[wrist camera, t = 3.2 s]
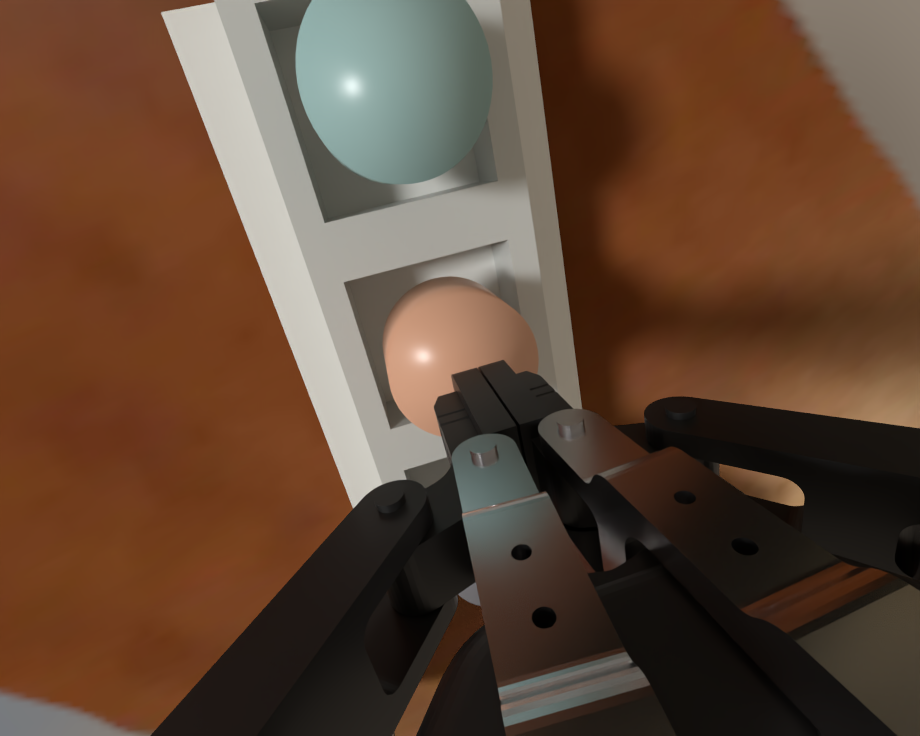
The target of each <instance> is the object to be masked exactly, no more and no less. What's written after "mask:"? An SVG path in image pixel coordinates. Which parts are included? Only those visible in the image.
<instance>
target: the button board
mask: <svg viewBox="0 0 920 736" xmlns="http://www.w3.org/2000/svg"><path fill="white" fill-rule="evenodd" d="M214 1H215V2H214V3H209V4H204V5H198V6H193V7H187V8H182V9H177V10H171V11H166V12H161V13H162V16H163V18H164V21H165V24H166V26H167V29H168V31H169V34H170V36H171V39H172V42H173V44H174V47H175V49H176V52H177V55H178V57H179V60H180V62H181V65H182V67H183V70H184V73H185V75H186V78H187V80H188V83H189V86H190V88H191V91H192V93H193V96H194V98H195V101H196V104H197V106H198V109H199V111H200V114H201V117H202V119H203V122H204V124H205V127H206V129H207V132H208V135H209V137H210V140H211V142H212V145H213V148H214V150H215V153H216V155H217V158H218V160H219V163H220V166H221V168H222V171H223V173H224V176H225V179H226V181H227V184H228V186H229V189H230V191H231V194H232V197H233V199H234V202H235V204H236V207H237V210H238V212H239V215H240V217H241V220H242V222H243V225H244V228H245V230H246V233H247V235H248V238H249V241H250V243H251V246H252V248H253V251H254V253H255V256H256V259H257V261H258V264H259V266H260V269H261V272H262V274H263V277H264V279H265V282H266V284H267V287H268V290H269V292H270V295H271V297H272V300H273V303H274V305H275V308H276V310H277V313H278V315H279V318H280V321H281V323H282V326H283V328H284V331H285V334H286V336H287V339H288V341H289V344H290V346H291V349H292V352H293V354H294V357H295V359H296V362H297V365H298V367H299V370H300V372H301V375H302V377H303V380H304V383H305V385H306V388H307V390H308V393H309V396H310V398H311V401H312V403H313V406H314V408H315V411H316V414H317V416H318V419H319V421H320V424H321V427H322V429H323V432H324V434H325V437H326V439H327V442H328V445H329V447H330V450H331V452H332V455H333V458H334V460H335V463H336V465H337V468H338V470H339V473H340V476H341V478H342V481H343V483H344V486H345V489H346V491H347V494H348V496H349V499H350V501H351V504H352V507H353V509H354V507H355V506H356V505H357V504H358V503H359V502H360V501H361V500H362V498H363V497H364V496H365V495H366V494H368V493H369V492H370V491H372V490H373V489H375V488H376V487H378V486H380V485H383V484H385V483H388V482H391V481H396V480H412V481H416V482H418V483H420V484H421V485H423V487H424V488H427V487H429V486H430V485H432V484H434V483H435V482H437V481H438V480H440V479H441V478H442V477H443V476H444V475H445V474H446V473H447V471H448V470H449V468H450V463H449V460H448V458H447V455H446V451H445V448H444V444H443V440H442V437H441V436H437V435H433V434H431V433H428V432H426V431H424V430H422V429H420V428H418V427H417V426H416V425H414V424H413V423H412V422H410V421H409V420H408V419H407V418H406V417H405V416H404V414H403V413H402V412H401V410H400V409H399V408H398V406H397V404H396V402H395V400H394V398H393V395H392V393H391V389H390V385H389V380H388V374H387V369H386V364H385V358H384V353H383V344H382V342H383V331H384V326H385V323H386V320H387V318H388V316H389V314H390V312H391V310H392V308H393V307H394V305H395V304H396V302H397V301H398V300H399V299H400V298H401V297H402V296H403V295H404V294H405V293H406V292H407V291H409V290H410V289H412V288H413V287H415V286H416V285H418V284H420V283H422V282H424V281H427V280H430V279H433V278H438V277H448V276H452V277H461V278H466V279H469V280H472V281H475V282H477V283H479V284H481V285H483V286H484V287H485V288H487V289H488V290H490V291H491V292H492V293H494V294H495V295H496V296H497V297H499V298H500V299H501V300H503V301H504V302H505V303H507V304H508V305H509V306H511V307H512V308H513V309H515V310H516V311H517V312H518V313H519V314H520V315H521V316H522V317H523V318H524V320H525V321H526V322H527V324H528V325H529V327H530V329H531V330H532V332H533V335H534V337H535V340H536V344H537V348H538V357H539V363H538V372H537V375H540V376H541V377H542V378H543V379H544V380H545V381H546V382H547V383H548V384H549V385H550V386H551V387H552V388H553V389H554V390H555V392H557V393H558V394H559V395H560V396H561V397H562V398H563V399H564V400H565V401H566V402H567V403H568V404H569V405H570V406H571V407H572V408H573V409H582V404H581V396H580V388H579V380H578V373H577V365H576V357H575V349H574V341H573V333H572V326H571V318H570V310H569V302H568V294H567V286H566V279H565V271H564V263H563V255H562V247H561V239H560V231H559V224H558V216H557V208H556V200H555V192H554V184H553V177H552V169H551V161H550V153H549V145H548V137H547V130H546V122H545V114H544V106H543V98H542V90H541V83H540V75H539V67H538V59H537V51H536V43H535V36H534V28H533V20H532V12H531V4H530V0H466V1H467V3H468V4H469V5H470V7H471V9H472V10H473V12H474V14H475V15H476V17H477V19H478V21H479V23H480V25H481V27H482V30H483V32H484V35H485V38H486V41H487V44H488V48H489V52H490V57H491V63H492V73H493V89H492V98H491V104H490V109H489V113H488V117H487V119H486V122H485V125H484V128H483V130H482V132H481V134H480V136H479V138H478V140H477V141H476V143H475V144H474V146H473V147H472V149H471V150H470V151H469V152H468V154H467V155H466V156H465V157H464V158H463V159H462V160H461V161H460V162H459V163H458V164H457V165H455V166H454V167H453V168H451V169H450V170H448V171H447V172H445V173H444V174H442V175H440V176H438V177H436V178H433V179H430V180H427V181H424V182H420V183H414V184H382V183H377V182H373V181H370V180H367V179H365V178H362V177H360V176H358V175H357V174H355V173H353V172H351V171H350V170H349V169H347V168H346V167H345V166H343V165H342V164H341V163H340V162H339V161H338V160H337V159H336V158H335V157H334V156H333V155H332V154H331V153H330V151H329V150H328V149H327V148H326V146H325V145H324V143H323V142H322V140H321V139H320V137H319V136H318V134H317V133H316V131H315V129H314V128H313V126H312V124H311V122H310V120H309V118H308V116H307V114H306V111H305V109H304V106H303V103H302V101H301V97H300V93H299V89H298V84H297V76H296V46H297V38H298V34H299V30H300V26H301V23H302V20H303V17H304V15H305V12H306V10H307V8H308V6H309V4H310V3H311V1H312V0H214Z"/></svg>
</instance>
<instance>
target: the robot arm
mask: <svg viewBox="0 0 920 736" xmlns="http://www.w3.org/2000/svg"><path fill="white" fill-rule="evenodd" d="M451 378H452V383H453V388H454V392H452V393H449V394H445V395H442V396H438V398H437V400H436V403H435V405H434V410H435V414H436V418H437V422H438V425H439V429H440V433H441V436H442V440H443V444H444V448H445V451H446V455H447V458H448V460H449V463H450V468H449V470H448V471H447V473H446V474H445V475H444V476H443V477H442V478H441V479H440V480H438V481H437V482H435V483H434V484H432V485H430V486H429V487H427V488H424V487H423V485H421V484H420V483H418V482H416V481H412V480H396V481H391V482H388V483H385V484H383V485H380V486H378V487H376V488H375V489H373V490H372V491H370V492H369V493H368V494H366V495H365V496H364V497H363V498H362V500H361V501H360V502H359V503H358V504H357V505H356V506H355V507H354V509H353V510H352V511H351V512H350V513H349V514H348V515H347V516H346V517H345V519H344V520H343V521H342V522H341V523H340V524H339V525H338V526H337V528H336V529H335V530H334V531H333V532H332V533H331V534H330V535H329V537H328V538H327V539H326V540H325V541H324V542H323V543H322V544H321V545H320V547H319V548H318V549H317V550H316V551H315V552H314V553H313V554H312V556H311V557H310V558H309V559H308V560H307V561H306V562H305V563H304V564H303V566H302V567H301V568H300V569H299V570H298V571H297V572H296V573H295V575H294V576H293V577H292V578H291V579H290V580H289V581H288V582H287V584H286V585H285V586H284V587H283V588H282V589H281V590H280V591H279V592H278V594H277V595H276V596H275V597H274V598H273V599H272V600H271V601H270V603H269V604H268V605H267V606H266V607H265V608H264V609H263V610H262V611H261V613H260V614H259V615H258V616H257V617H256V618H255V619H254V620H253V622H252V623H251V624H250V625H249V626H248V627H247V628H246V629H245V631H244V632H243V633H242V634H241V635H240V636H239V637H238V638H237V639H236V641H235V642H234V643H233V644H232V645H231V646H230V647H229V648H228V650H227V651H226V652H225V653H224V654H223V655H222V656H221V657H220V658H219V660H218V661H217V662H216V663H215V664H214V665H213V666H212V667H211V669H210V670H209V671H208V672H207V673H206V674H205V675H204V676H203V678H202V679H201V680H200V681H199V682H198V683H197V684H196V685H195V686H194V688H193V689H192V690H191V691H190V692H189V693H188V694H187V695H186V697H185V698H184V699H183V700H182V701H181V702H180V703H179V704H178V705H177V707H176V708H175V709H174V710H173V711H172V712H171V713H170V714H169V716H168V717H167V718H166V719H165V720H164V721H163V722H162V723H161V725H160V726H159V727H158V728H157V729H156V730H155V731H154V732H153V733H152V735H151V736H392V735H393V733H394V731H395V729H396V727H397V725H398V723H399V721H400V719H401V717H402V715H403V713H404V711H405V709H406V707H407V705H408V703H409V702H410V700H411V698H412V696H413V694H414V692H415V690H416V688H417V686H418V684H419V682H420V680H421V678H422V676H423V674H424V672H425V670H426V668H427V666H428V664H429V662H430V661H431V659H432V657H433V655H434V653H435V651H436V649H437V647H438V645H439V643H440V641H441V639H442V637H443V635H444V633H445V631H446V629H447V627H448V625H449V623H450V621H451V620H452V618H453V616H454V614H455V611H456V609H457V605H458V596H457V595H458V594H459V593H461V592H462V591H464V590H465V589H466V588H468V587H469V586H471V585H472V584H474V583H475V582H476V586H477V591H478V595H479V600H480V605H481V610H482V615H483V619H484V624H485V625H484V626H482V627H481V628H480V629H479V630H477V631H476V632H475V633H474V634H473V635H472V636H471V637H470V638H469V639H468V640H467V641H466V642H465V643H464V644H463V646H462V647H461V648H460V650H459V651H458V652H457V654H456V655H455V656H454V658H453V659H452V661H451V663H450V664H449V666H448V668H447V669H446V671H445V673H444V674H443V676H442V679H441V681H440V683H439V685H438V687H437V689H436V692H435V694H434V696H433V698H432V701H431V703H430V705H429V708H428V710H427V712H426V715H425V717H424V719H423V721H422V724H421V726H420V728H419V731H418V733H417V735H416V736H920V429H919V428H912V427H905V426H898V425H890V424H883V423H876V422H868V421H861V420H854V419H846V418H839V417H832V416H825V415H817V414H810V413H803V412H795V411H788V410H781V409H774V408H766V407H759V406H752V405H744V404H737V403H730V402H722V401H715V400H708V399H701V398H693V397H668V398H663V399H660V400H657V401H655V402H653V403H651V404H650V405H648V407H647V408H646V409H645V412H644V419H645V423H638V424H629V425H618V426H613V425H612V424H610V423H609V422H608V421H606V420H605V419H604V418H603V417H601V416H600V415H599V414H597V413H595V412H593V411H589V410H585V409H573V408H572V407H571V406H570V405H569V404H568V403H567V402H566V401H565V400H564V399H563V398H562V397H561V396H560V395H559V394H558V393H557V392H555V390H554V389H553V388H552V387H551V386H550V385H549V384H548V383H547V382H546V381H545V380H544V379H543V378H542V377H541V376H540V375H537V374H534V373H532V372H529V371H524V372H520V373H517V374H516V373H515V372H514V371H513V370H512V369H511V367H510V366H509V365H508V364H507V363H506V362H505V361H504V360H501V361H497V362H494V363H490V364H487V365H483V366H480V367H478V369H477V368H473V369H469V370H466V371H462V372H459V373H455V374H452V375H451ZM719 464H724V465H728V466H733V467H738V468H742V469H747V470H752V471H756V472H761V473H766V474H770V475H775V476H780V477H783V478H786V479H789V480H791V481H792V482H794V483H795V484H797V485H798V486H799V487H800V488H801V490H802V491H803V493H804V496H805V501H804V505H803V506H788V505H784V504H780V503H776V502H772V501H768V500H764V499H760V498H756V497H752V496H748V495H745V494H744V493H743V492H741V491H740V490H738V489H737V488H735V487H734V486H732V485H731V484H730V483H728V482H727V481H725V480H724V479H722V478H721V477H719Z"/></svg>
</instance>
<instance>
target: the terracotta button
mask: <svg viewBox="0 0 920 736" xmlns="http://www.w3.org/2000/svg"><path fill="white" fill-rule="evenodd" d="M382 344H383V353H384V358H385V364H386V369H387V374H388V380H389V385H390V389H391V393H392V395H393V398H394V400H395V402H396V404H397V406H398V408H399V409H400V410H401V412H402V413H403V414H404V416H405V417H406V418H407V419H408V420H409V421H410V422H412V423H413V424H414V425H416V426H417V427H418V428H420V429H422V430H424V431H426V432H428V433H431V434H433V435H437V436H441V433H440V429H439V425H438V422H437V418H436V414H435V410H434V405H435V403H436V400H437V398H438V396H442V395H445V394H449V393H452V392H454V388H453V383H452V378H451V375H452V374H455V373H459V372H462V371H466V370H469V369H473V368H477V369H478V367H480V366H483V365H487V364H490V363H494V362H497V361H501V360H504V361H505V362H506V363H507V364H508V365H509V366H510V367H511V369H512V370H513V371H514V372H515V373H516V374H517V373H520V372H524V371H529V372H532V373H534V374H537V372H538V363H539V357H538V348H537V344H536V340H535V337H534V335H533V332H532V330H531V329H530V327H529V325H528V324H527V322H526V321H525V320H524V318H523V317H522V316H521V315H520V314H519V313H518V312H517V311H516V310H515V309H513V308H512V307H511V306H509V305H508V304H507V303H505V302H504V301H503V300H501V299H500V298H499V297H497V296H496V295H495V294H494V293H492V292H491V291H490V290H488V289H487V288H485V287H484V286H483V285H481V284H479V283H477V282H475V281H472V280H469V279H466V278H461V277H452V276H448V277H438V278H433V279H430V280H427V281H424V282H422V283H420V284H418V285H416V286H415V287H413V288H412V289H410V290H409V291H407V292H406V293H405V294H404V295H403V296H402V297H401V298H400V299H399V300H398V301H397V302H396V304H395V305H394V307H393V308H392V310H391V312H390V314H389V316H388V318H387V320H386V323H385V326H384V331H383V342H382ZM441 437H442V436H441Z"/></svg>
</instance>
